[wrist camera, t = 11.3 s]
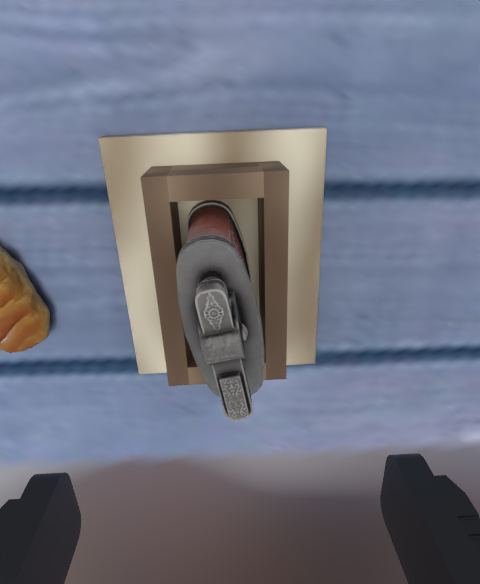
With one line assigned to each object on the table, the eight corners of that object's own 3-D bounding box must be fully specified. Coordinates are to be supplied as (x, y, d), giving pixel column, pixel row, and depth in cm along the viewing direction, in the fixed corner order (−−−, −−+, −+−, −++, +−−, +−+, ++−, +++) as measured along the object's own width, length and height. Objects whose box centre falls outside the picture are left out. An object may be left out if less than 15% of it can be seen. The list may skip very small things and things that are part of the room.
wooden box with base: (321, 127, 23) (346, 132, 18) (311, 353, 29) (327, 396, 25) (104, 136, 22) (77, 143, 18) (142, 363, 29) (128, 409, 24)
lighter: (176, 205, 23) (150, 273, 14) (235, 193, 23) (248, 253, 14) (208, 327, 26) (204, 445, 17) (260, 317, 26) (283, 431, 17)
